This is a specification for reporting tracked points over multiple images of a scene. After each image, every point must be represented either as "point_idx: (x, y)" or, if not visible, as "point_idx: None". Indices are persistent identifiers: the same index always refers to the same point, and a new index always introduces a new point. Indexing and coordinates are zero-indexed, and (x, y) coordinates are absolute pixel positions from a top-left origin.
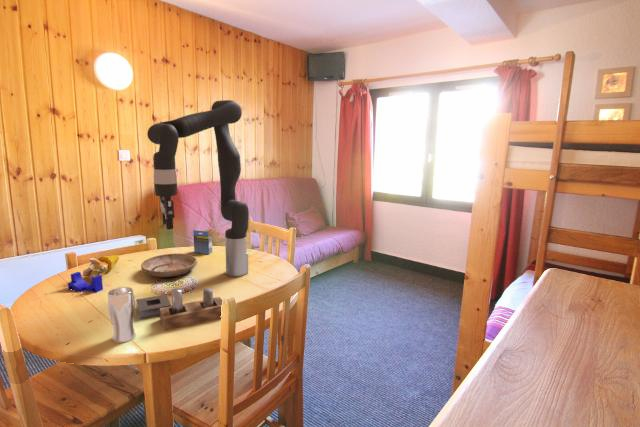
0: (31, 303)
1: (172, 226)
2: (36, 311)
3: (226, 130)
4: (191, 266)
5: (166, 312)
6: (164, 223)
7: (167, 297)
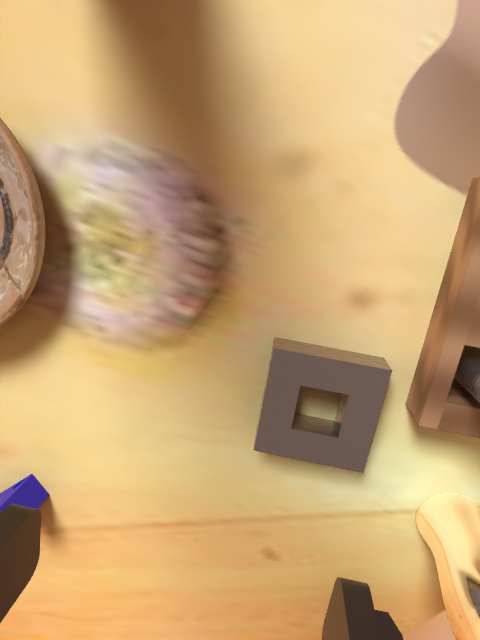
0: (48, 632)
1: (373, 616)
2: (113, 632)
3: None
4: (6, 129)
5: (475, 419)
6: (31, 562)
7: (309, 356)
